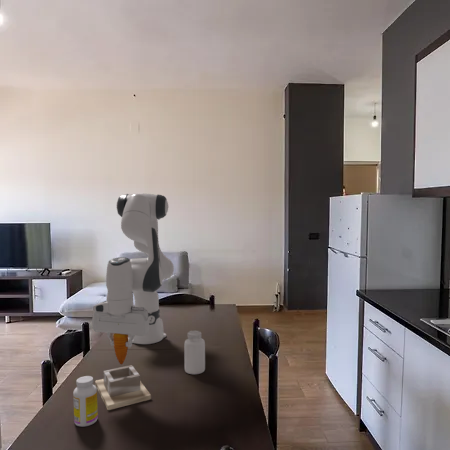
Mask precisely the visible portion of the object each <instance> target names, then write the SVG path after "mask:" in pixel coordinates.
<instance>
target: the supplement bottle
mask: <svg viewBox="0 0 450 450" xmlns="http://www.w3.org/2000/svg"><path fill="white" fill-rule="evenodd" d="M75 382H76V384H75V385H76V387H75V388H74V389H73V392H72V394H73V395H72V398H73V400H72V401H73V422H74V424H75V426H77V427H89V426H91V425H93V424H95V423H96V422H97V420H98V417H99V413H98V389H97V387H96V385H95V384H94V377H93V376H91V375H85V376H80V377H78V378H77V379H76V381H75Z"/></svg>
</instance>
